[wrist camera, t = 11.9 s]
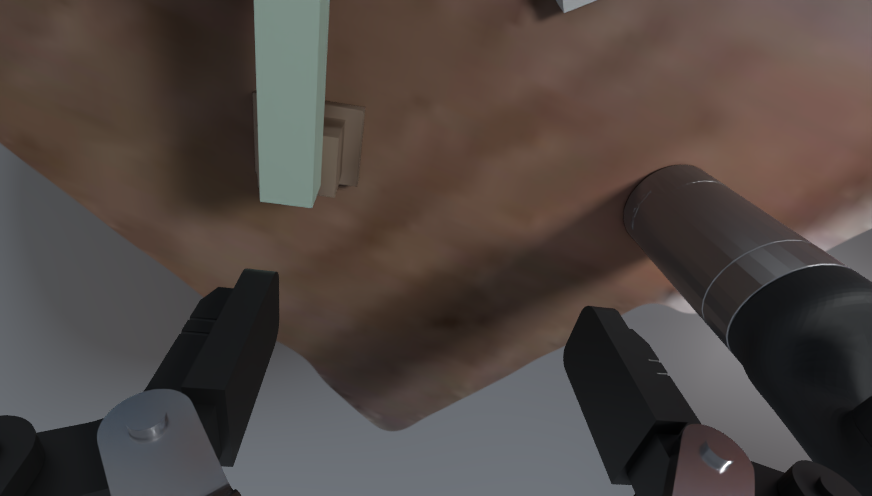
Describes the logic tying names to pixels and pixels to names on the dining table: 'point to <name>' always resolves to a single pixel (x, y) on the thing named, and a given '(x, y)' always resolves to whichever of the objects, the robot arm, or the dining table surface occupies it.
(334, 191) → the post
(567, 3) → the decorative molding
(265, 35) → the green rail
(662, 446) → the robot arm
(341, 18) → the dining table surface
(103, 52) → the dining table surface
